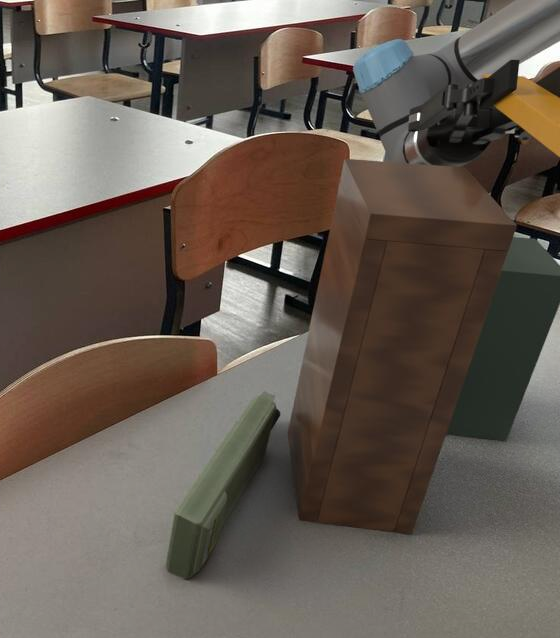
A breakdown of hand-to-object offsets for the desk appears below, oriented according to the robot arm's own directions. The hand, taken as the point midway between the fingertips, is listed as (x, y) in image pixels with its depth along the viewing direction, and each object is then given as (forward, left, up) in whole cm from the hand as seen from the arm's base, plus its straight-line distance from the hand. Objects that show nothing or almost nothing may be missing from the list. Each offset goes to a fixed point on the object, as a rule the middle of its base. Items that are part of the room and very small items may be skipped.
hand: (540, 76), depth 69 cm
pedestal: (0, +2, -36) cm, 36 cm away
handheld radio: (+24, +20, -36) cm, 48 cm away
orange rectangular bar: (0, +2, -4) cm, 4 cm away
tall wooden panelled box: (+13, +16, -36) cm, 41 cm away
